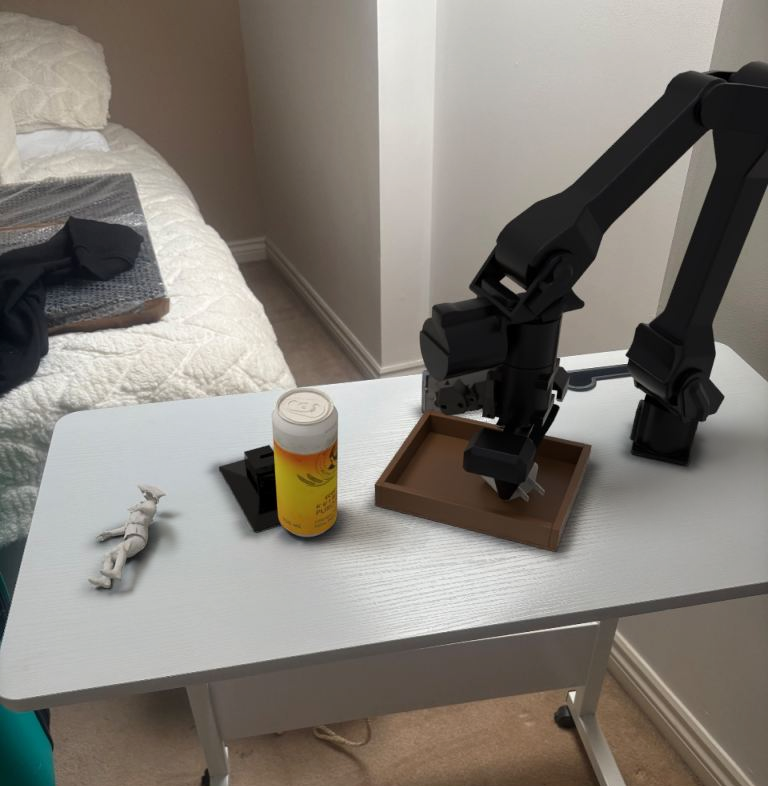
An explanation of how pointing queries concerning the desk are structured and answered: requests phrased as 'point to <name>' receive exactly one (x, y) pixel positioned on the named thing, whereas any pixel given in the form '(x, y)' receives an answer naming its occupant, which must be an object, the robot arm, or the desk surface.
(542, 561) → the desk surface
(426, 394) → the mini dv tape
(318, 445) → the beer can
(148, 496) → the soldier figure
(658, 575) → the desk surface
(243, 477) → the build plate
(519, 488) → the usb wall charger
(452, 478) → the tray
